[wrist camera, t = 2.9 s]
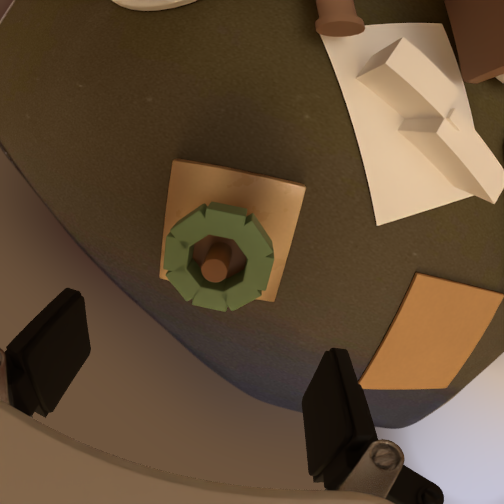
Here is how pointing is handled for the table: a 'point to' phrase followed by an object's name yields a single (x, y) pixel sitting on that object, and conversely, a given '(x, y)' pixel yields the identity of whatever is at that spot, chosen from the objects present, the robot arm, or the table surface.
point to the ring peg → (241, 195)
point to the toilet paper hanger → (463, 26)
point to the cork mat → (431, 334)
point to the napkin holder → (412, 119)
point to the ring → (228, 226)
